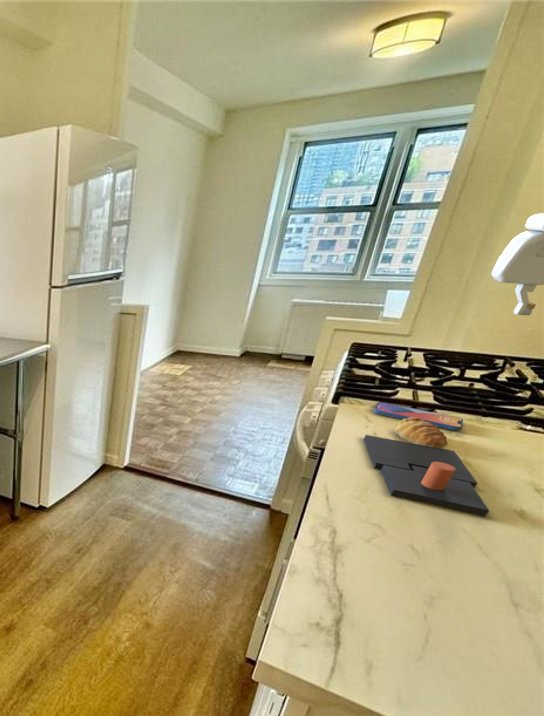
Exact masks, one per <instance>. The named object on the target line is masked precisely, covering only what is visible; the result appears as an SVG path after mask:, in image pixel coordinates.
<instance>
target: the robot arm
mask: <svg viewBox="0 0 544 716" xmlns="http://www.w3.org/2000/svg"><path fill="white" fill-rule="evenodd" d="M525 228H526V229H527V230H526V231H524V232H521V233H519V234H517V235H516V236H515V237H514V238H513V239H512V240H511V241H510V242H509V243H508V245H507V246H506V247H505V248H504V250H503V252H502V254H501V255H500V256H499V257H498V259H497V261H496V263H495V265H494V266H493V268H492V271H491V277H492V278H493V280H494V281H496V282H499V283H504V284H517V285H516V286H515V289H514V291H515V295H516V299H517V305H516V306H515V308H514V309H513V314H515V315H518V316H531V315H532V313H533V310H534V309H535V308H536V306H537V304H536V303H534V302H530V299H529V295H528V293H533V292H534V291H535V289H536V288H537V286H544V212H539V213H535V214H533V215H531V216H530V217H529V218H528V219H527V221H526V224H525Z"/></svg>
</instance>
